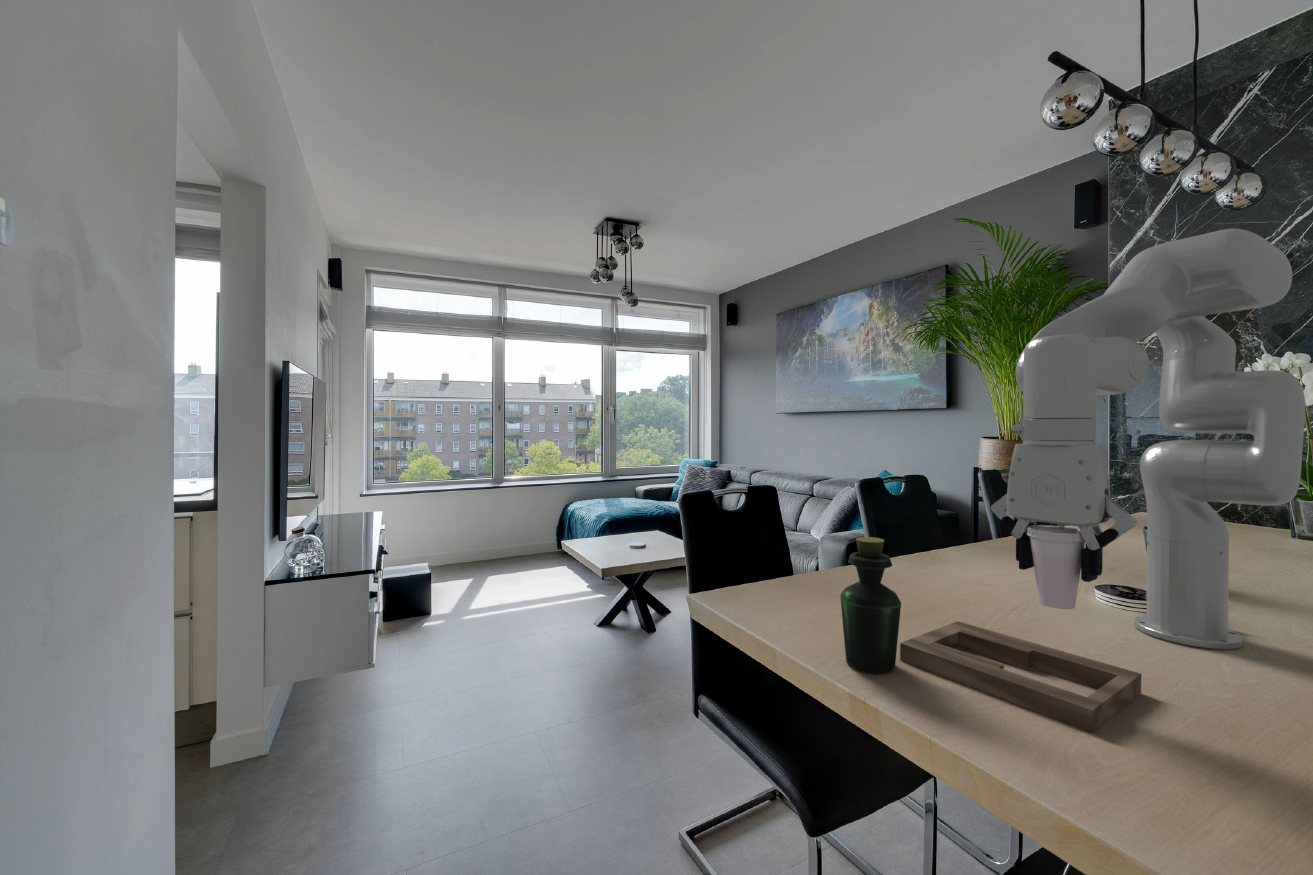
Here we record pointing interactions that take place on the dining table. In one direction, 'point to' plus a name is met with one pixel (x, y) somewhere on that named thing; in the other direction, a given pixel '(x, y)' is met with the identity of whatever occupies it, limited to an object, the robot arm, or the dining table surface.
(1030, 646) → the keyhole board
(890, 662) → the potion bottle
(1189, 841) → the dining table surface
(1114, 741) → the dining table surface
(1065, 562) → the smoothie
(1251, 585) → the dining table surface
